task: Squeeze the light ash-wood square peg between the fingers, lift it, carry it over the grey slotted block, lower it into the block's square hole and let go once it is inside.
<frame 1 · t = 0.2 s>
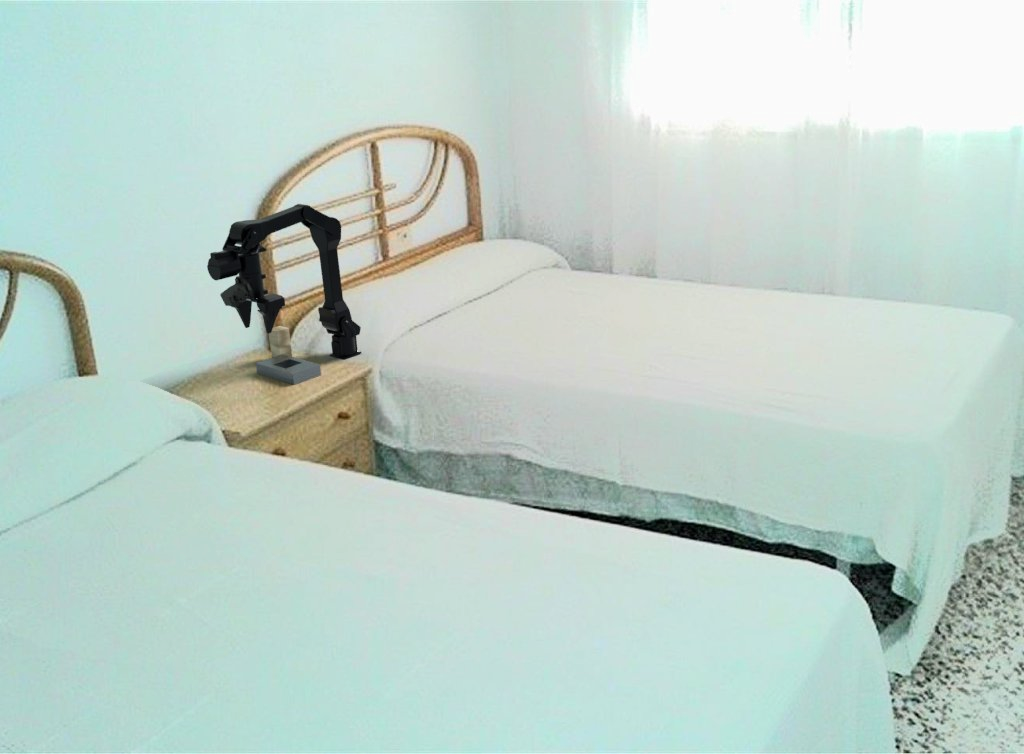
hand: (258, 330, 269), 14 cm above the nightstand, tool pointing down, fingers open, 9 cm apart
grey slotted block: (288, 374, 278), on the nightstand
ash peg: (282, 359, 291), on the nightstand
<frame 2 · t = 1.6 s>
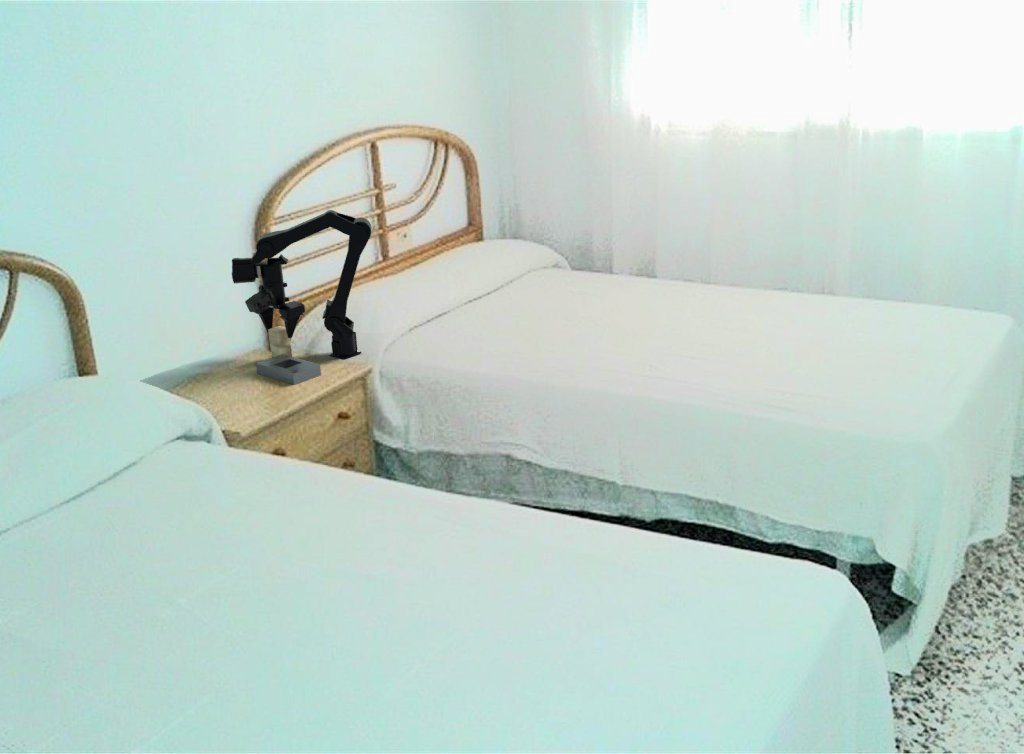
hand: (279, 335, 288), 7 cm above the nightstand, tool pointing down, fingers open, 9 cm apart
nothing on the nightstand moved.
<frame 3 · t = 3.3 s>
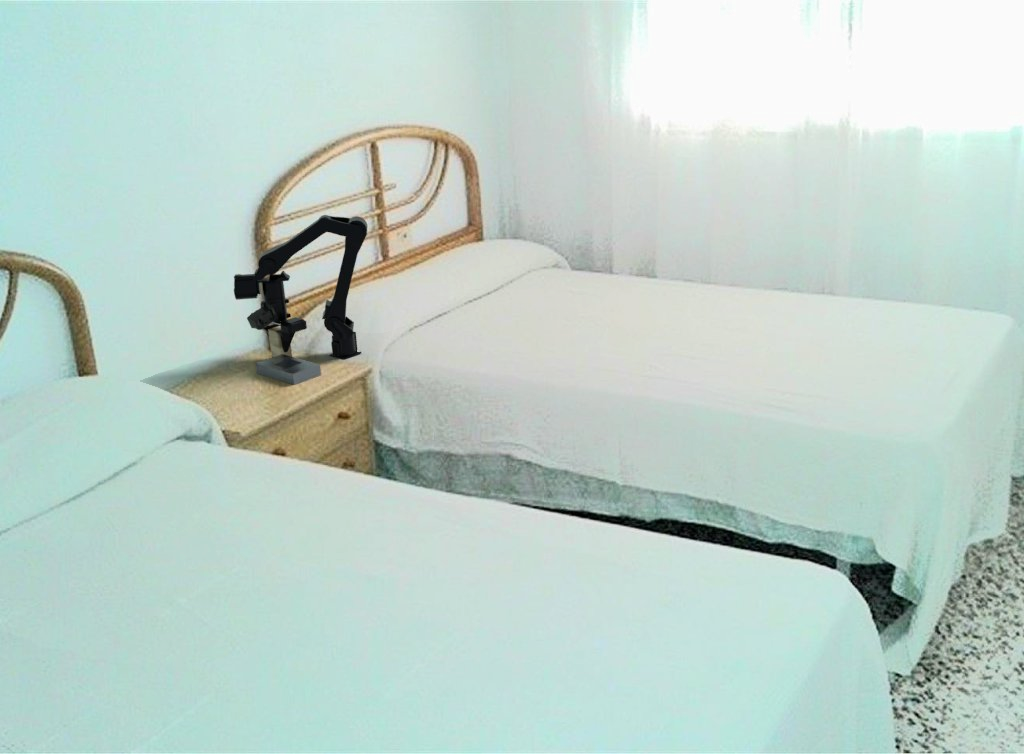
hand: (281, 350, 290), 3 cm above the nightstand, tool pointing down, fingers closed on ash peg, 4 cm apart
ash peg: (282, 359, 291), on the nightstand, touching gripper
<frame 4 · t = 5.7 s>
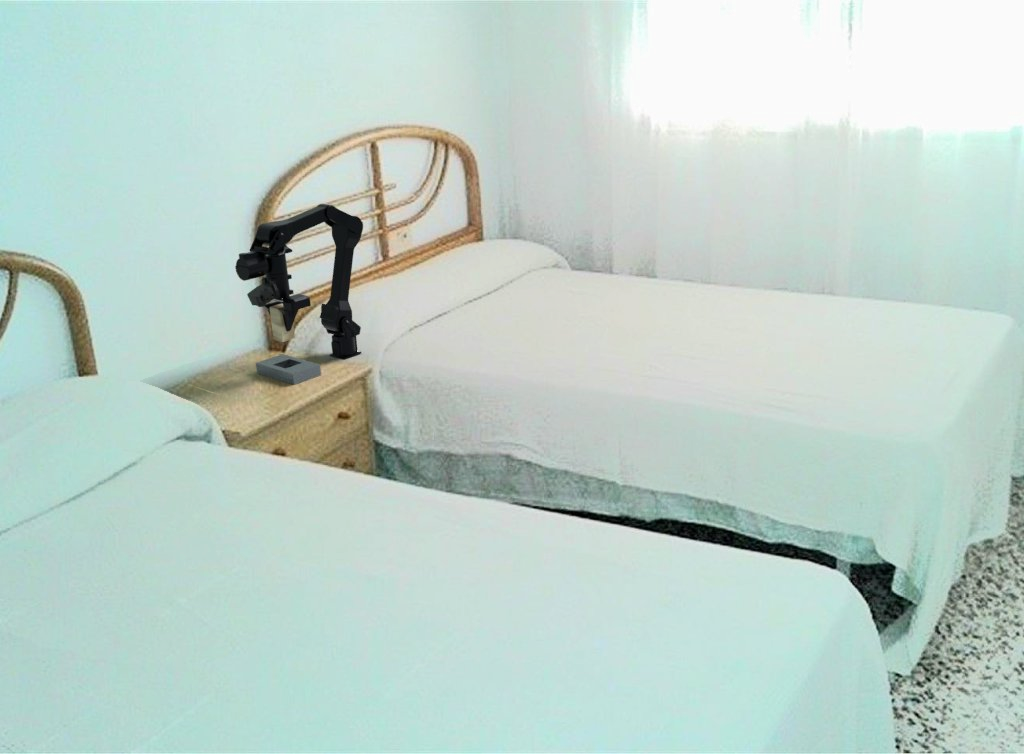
hand: (283, 329, 274), 12 cm above the nightstand, tool pointing down, fingers closed on ash peg, 4 cm apart
ash peg: (284, 339, 275), point 10 cm above the nightstand, touching gripper
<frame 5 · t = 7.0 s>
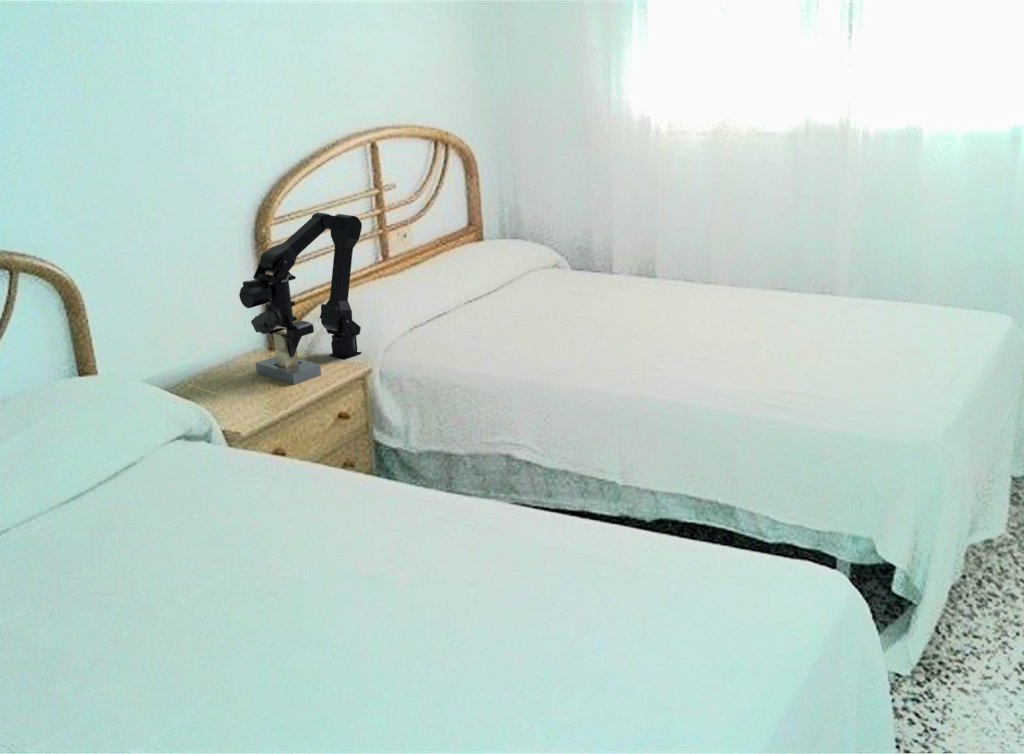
hand: (286, 355, 277), 5 cm above the nightstand, tool pointing down, fingers closed on ash peg, 4 cm apart
ash peg: (287, 364, 277), point 3 cm above the nightstand, touching gripper
when the fingers open (4 cm above the nightstand, at t = 8.2 s): ash peg drops 2 cm, resting in grey slotted block.
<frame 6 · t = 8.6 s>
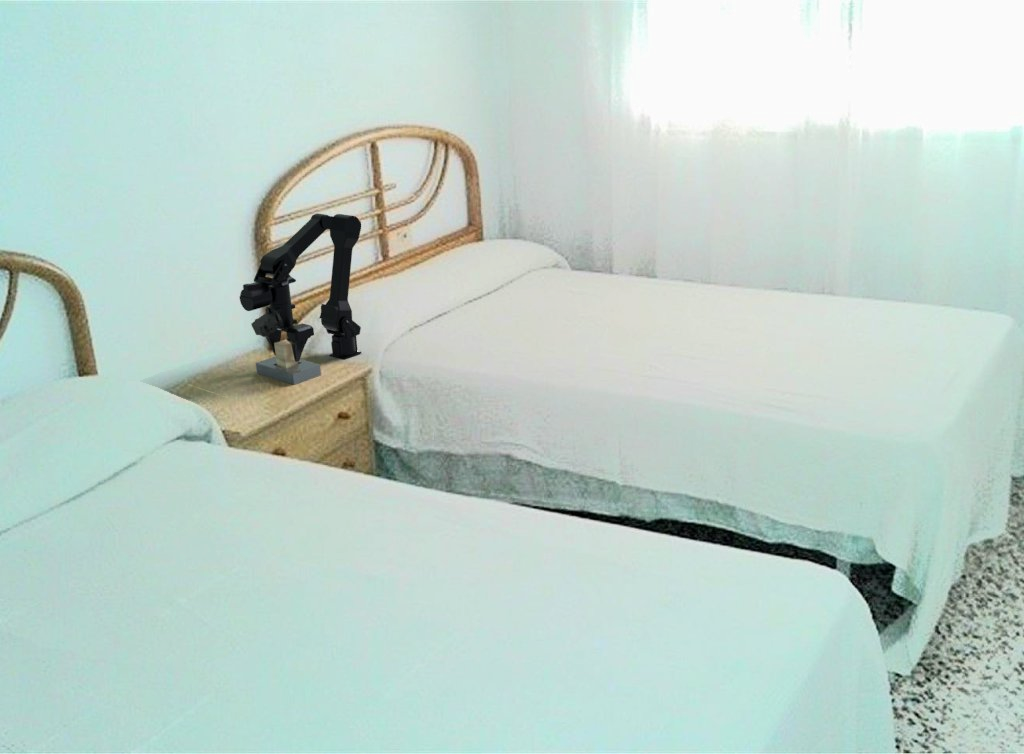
hand: (287, 358, 277), 4 cm above the nightstand, tool pointing down, fingers open, 8 cm apart
ash peg: (288, 374, 278), resting in grey slotted block
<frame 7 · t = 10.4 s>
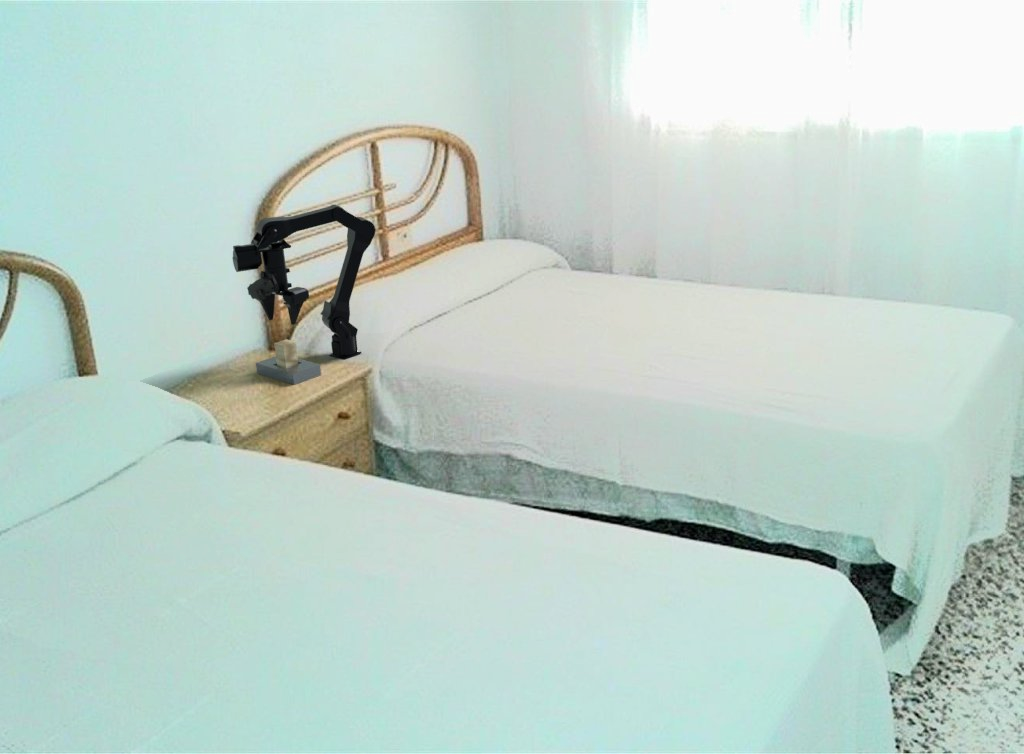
hand: (282, 322, 281), 12 cm above the nightstand, tool pointing down, fingers open, 9 cm apart
nothing on the nightstand moved.
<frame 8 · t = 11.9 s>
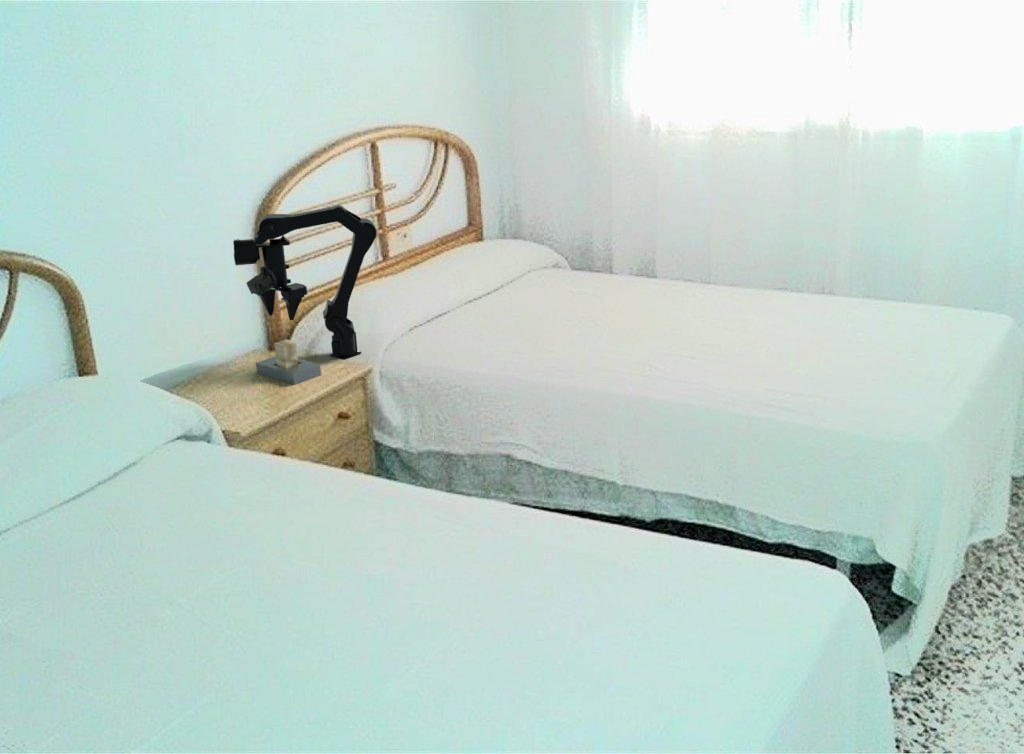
hand: (281, 317, 285), 13 cm above the nightstand, tool pointing down, fingers open, 9 cm apart
nothing on the nightstand moved.
at the end: ash peg 0.0 cm off-centre on the grey slotted block, point 0.0 cm above the grey slotted block's base; ash peg tilted 0°; the gripper is holding nothing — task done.
